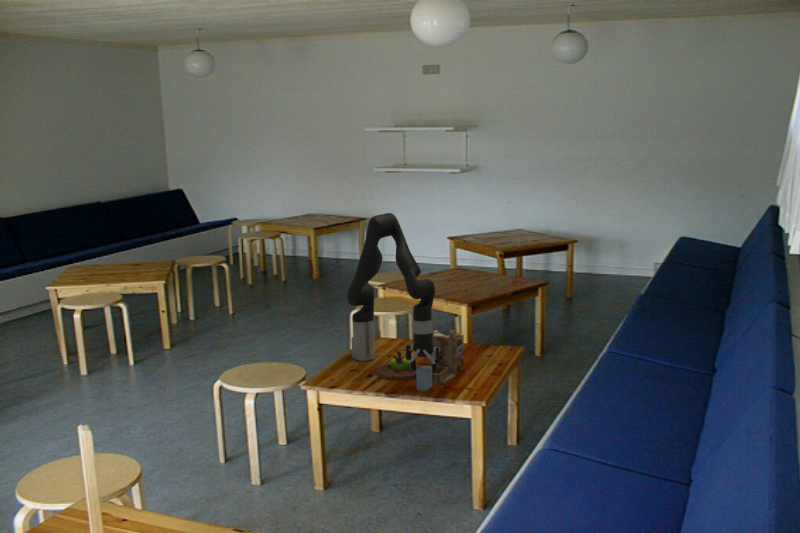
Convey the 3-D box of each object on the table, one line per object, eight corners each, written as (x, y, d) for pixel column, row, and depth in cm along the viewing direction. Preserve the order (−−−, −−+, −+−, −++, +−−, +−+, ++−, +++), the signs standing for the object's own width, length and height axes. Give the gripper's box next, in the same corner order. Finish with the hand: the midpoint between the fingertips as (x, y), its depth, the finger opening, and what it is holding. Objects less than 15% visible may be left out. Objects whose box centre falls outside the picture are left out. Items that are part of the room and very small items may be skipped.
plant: (384, 384, 300) (383, 357, 298) (370, 371, 318) (369, 346, 317) (431, 378, 307) (430, 351, 305) (414, 365, 325) (413, 340, 323)
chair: (416, 382, 300) (414, 336, 298) (430, 372, 313) (429, 327, 310) (444, 385, 295) (443, 338, 292) (457, 375, 308) (456, 330, 305)
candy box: (447, 373, 311) (446, 337, 308) (441, 371, 314) (440, 335, 312) (464, 369, 316) (463, 334, 313) (458, 367, 319) (457, 332, 317)
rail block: (416, 389, 291) (416, 370, 290) (423, 384, 297) (423, 365, 296) (426, 391, 290) (425, 371, 288) (433, 385, 296) (432, 366, 294)
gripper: (402, 332, 289) (403, 372, 291) (436, 334, 283) (437, 376, 285) (410, 327, 296) (411, 367, 298) (443, 330, 290) (444, 370, 292)
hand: (424, 371), depth 292 cm, fingers open, 8 cm apart
